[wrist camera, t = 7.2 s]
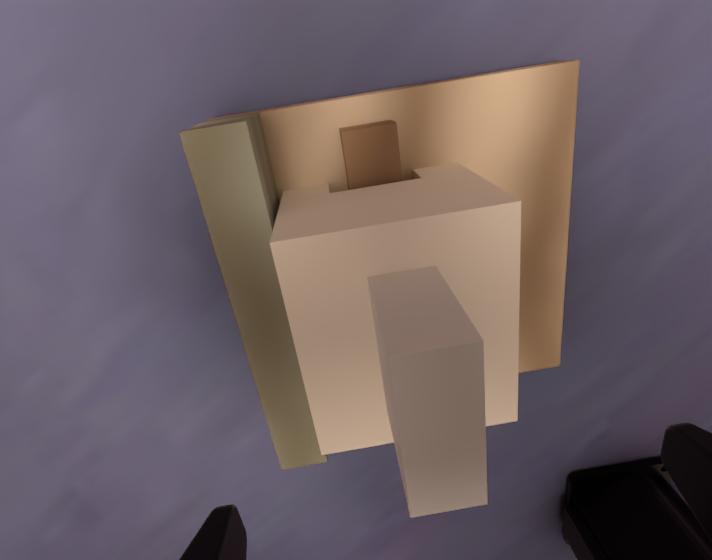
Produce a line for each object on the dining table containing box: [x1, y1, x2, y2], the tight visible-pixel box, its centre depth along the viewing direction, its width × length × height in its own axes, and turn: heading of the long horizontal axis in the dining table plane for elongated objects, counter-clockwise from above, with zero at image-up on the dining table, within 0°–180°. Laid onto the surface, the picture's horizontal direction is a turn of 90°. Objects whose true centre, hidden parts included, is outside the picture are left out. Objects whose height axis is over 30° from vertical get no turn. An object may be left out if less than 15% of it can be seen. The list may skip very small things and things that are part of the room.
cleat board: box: [179, 60, 580, 470], centre depth 18 cm, size 14×14×5 cm
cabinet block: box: [270, 162, 521, 518], centre depth 15 cm, size 7×8×10 cm
